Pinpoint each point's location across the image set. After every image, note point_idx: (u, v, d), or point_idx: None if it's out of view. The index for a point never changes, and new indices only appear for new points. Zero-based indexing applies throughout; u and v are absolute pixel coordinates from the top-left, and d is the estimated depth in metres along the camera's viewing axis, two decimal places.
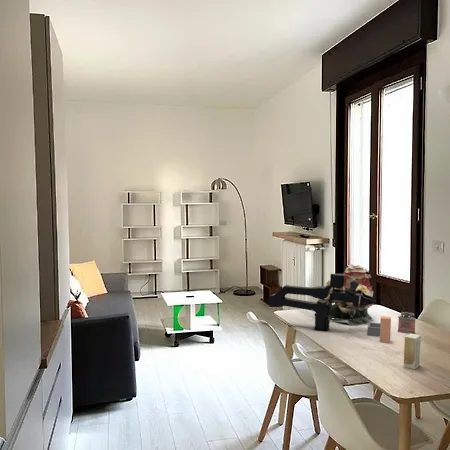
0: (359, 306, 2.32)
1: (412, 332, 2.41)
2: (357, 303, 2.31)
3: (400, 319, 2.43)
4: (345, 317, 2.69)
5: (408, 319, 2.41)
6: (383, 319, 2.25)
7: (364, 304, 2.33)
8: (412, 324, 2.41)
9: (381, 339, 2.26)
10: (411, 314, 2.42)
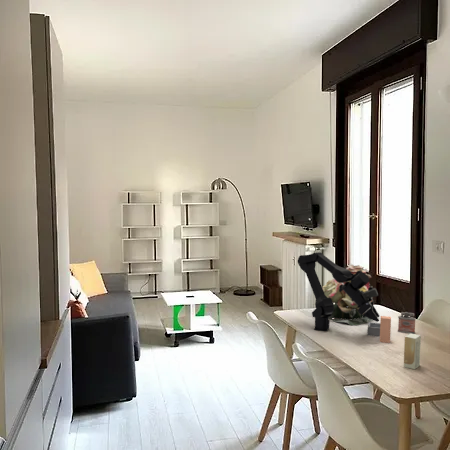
0: (362, 314, 2.22)
1: (412, 332, 2.41)
2: (363, 311, 2.21)
3: (400, 319, 2.43)
4: (345, 317, 2.69)
5: (408, 319, 2.41)
6: (383, 319, 2.25)
7: (367, 316, 2.23)
8: (412, 324, 2.41)
9: (381, 339, 2.26)
10: (411, 314, 2.42)
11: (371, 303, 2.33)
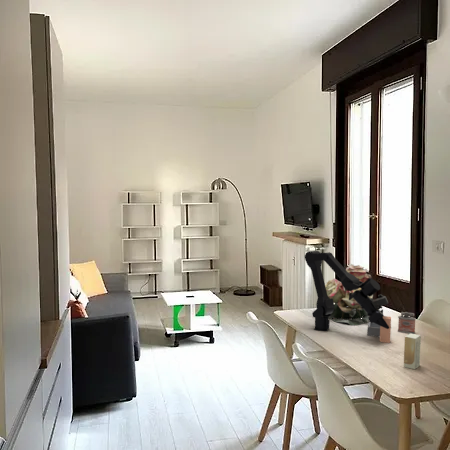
0: (373, 322, 2.23)
1: (412, 332, 2.41)
2: (373, 320, 2.20)
3: (400, 319, 2.43)
4: (345, 317, 2.69)
5: (408, 319, 2.41)
6: None
7: (378, 323, 2.24)
8: (412, 324, 2.41)
9: (381, 339, 2.26)
10: (411, 314, 2.42)
11: (381, 312, 2.30)
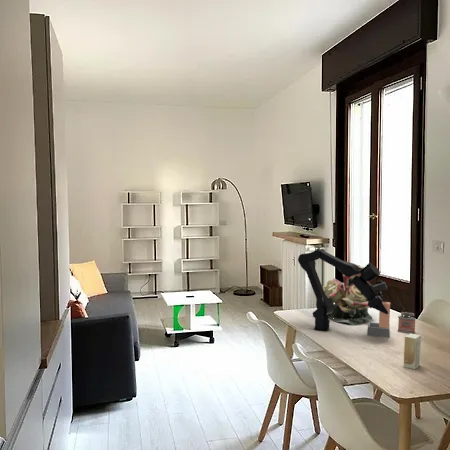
0: (372, 307, 2.25)
1: (412, 332, 2.41)
2: (372, 305, 2.21)
3: (400, 319, 2.43)
4: (345, 317, 2.69)
5: (408, 319, 2.41)
6: None
7: (377, 308, 2.26)
8: (412, 324, 2.41)
9: (380, 324, 2.28)
10: (411, 314, 2.42)
11: (380, 298, 2.32)
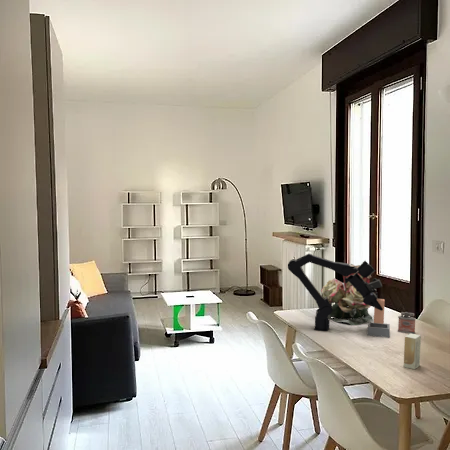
0: (367, 303, 2.35)
1: (412, 332, 2.41)
2: (368, 301, 2.32)
3: (400, 319, 2.43)
4: (346, 317, 2.70)
5: (408, 319, 2.41)
6: None
7: (372, 305, 2.36)
8: (412, 324, 2.41)
9: (375, 320, 2.38)
10: (411, 314, 2.42)
11: (375, 295, 2.42)
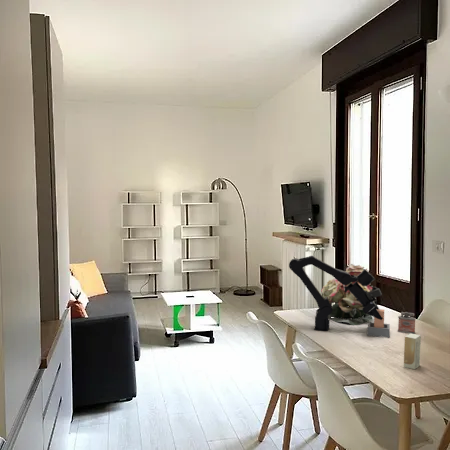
0: (367, 313, 2.34)
1: (412, 332, 2.41)
2: (367, 310, 2.32)
3: (400, 319, 2.43)
4: (346, 317, 2.70)
5: (408, 319, 2.41)
6: None
7: (371, 314, 2.35)
8: (412, 324, 2.41)
9: None
10: (411, 314, 2.42)
11: (375, 302, 2.44)
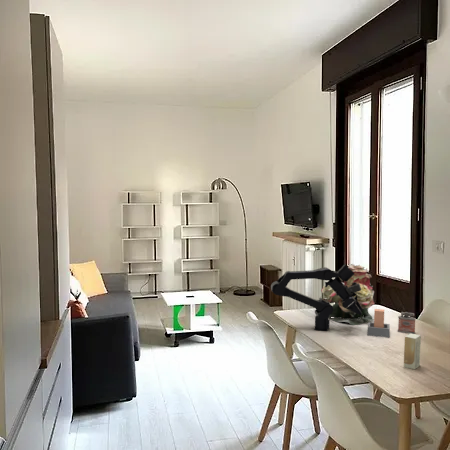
0: (346, 308, 2.36)
1: (412, 332, 2.41)
2: (347, 305, 2.35)
3: (400, 319, 2.43)
4: (346, 317, 2.70)
5: (408, 319, 2.41)
6: (377, 312, 2.37)
7: (351, 309, 2.37)
8: (412, 324, 2.41)
9: None
10: (411, 314, 2.42)
11: (355, 297, 2.47)
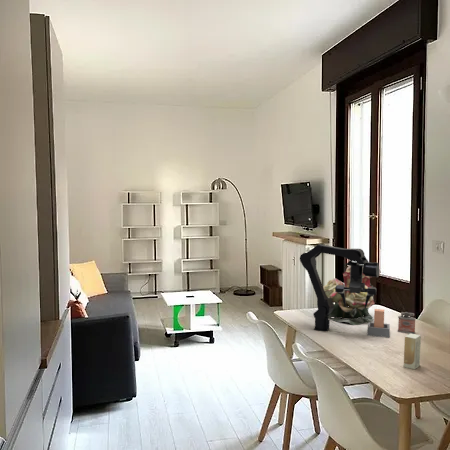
0: None
1: (412, 332, 2.41)
2: None
3: (400, 319, 2.43)
4: (346, 317, 2.70)
5: (408, 319, 2.41)
6: (377, 312, 2.37)
7: None
8: (412, 324, 2.41)
9: None
10: (411, 314, 2.42)
11: None
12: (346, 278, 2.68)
